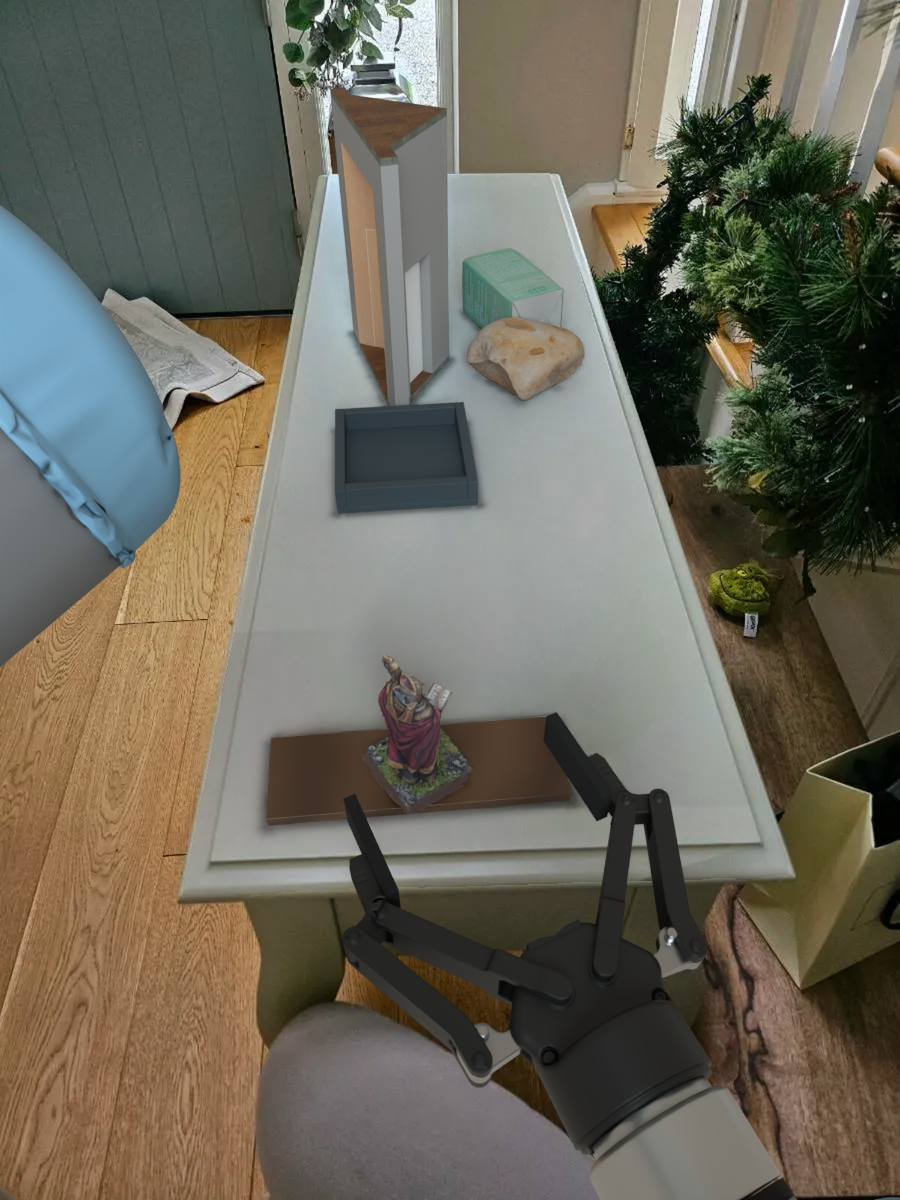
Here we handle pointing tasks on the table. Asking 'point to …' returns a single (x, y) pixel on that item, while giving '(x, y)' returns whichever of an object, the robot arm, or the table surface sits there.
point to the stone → (525, 354)
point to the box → (508, 289)
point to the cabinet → (395, 236)
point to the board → (336, 770)
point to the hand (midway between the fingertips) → (453, 764)
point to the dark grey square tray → (403, 458)
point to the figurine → (415, 744)
